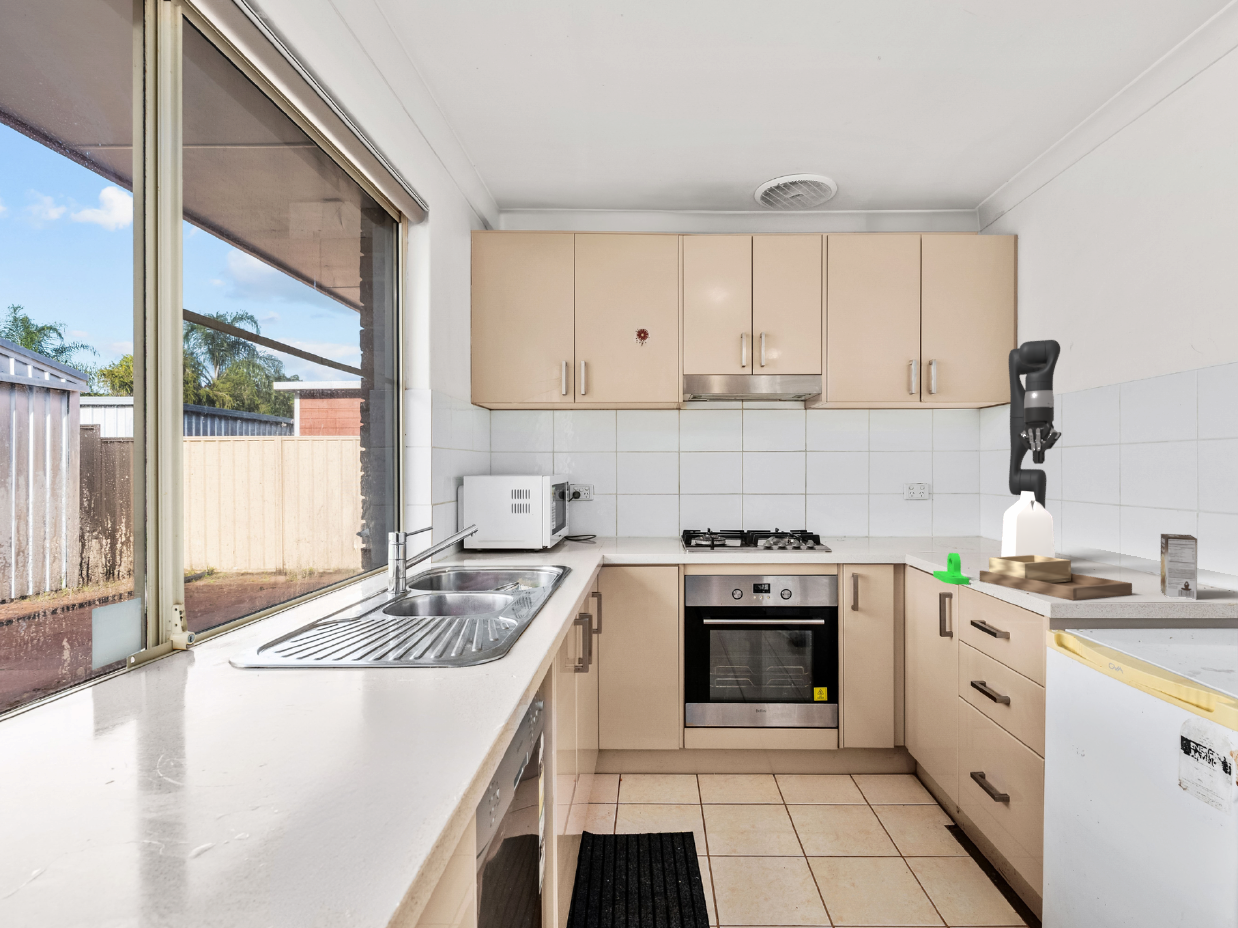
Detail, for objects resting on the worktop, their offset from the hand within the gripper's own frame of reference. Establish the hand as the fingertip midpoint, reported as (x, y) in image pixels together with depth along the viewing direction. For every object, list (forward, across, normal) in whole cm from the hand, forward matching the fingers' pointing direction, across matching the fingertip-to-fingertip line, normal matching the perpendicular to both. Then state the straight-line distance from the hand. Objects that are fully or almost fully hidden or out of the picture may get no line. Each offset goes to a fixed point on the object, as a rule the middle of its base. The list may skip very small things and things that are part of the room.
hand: (1038, 463), depth 194 cm
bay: (+35, +11, -9) cm, 38 cm away
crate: (+34, -2, -9) cm, 35 cm away
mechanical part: (+35, -7, -27) cm, 45 cm away
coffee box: (+35, +30, +12) cm, 48 cm away
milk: (+35, -10, +8) cm, 38 cm away
